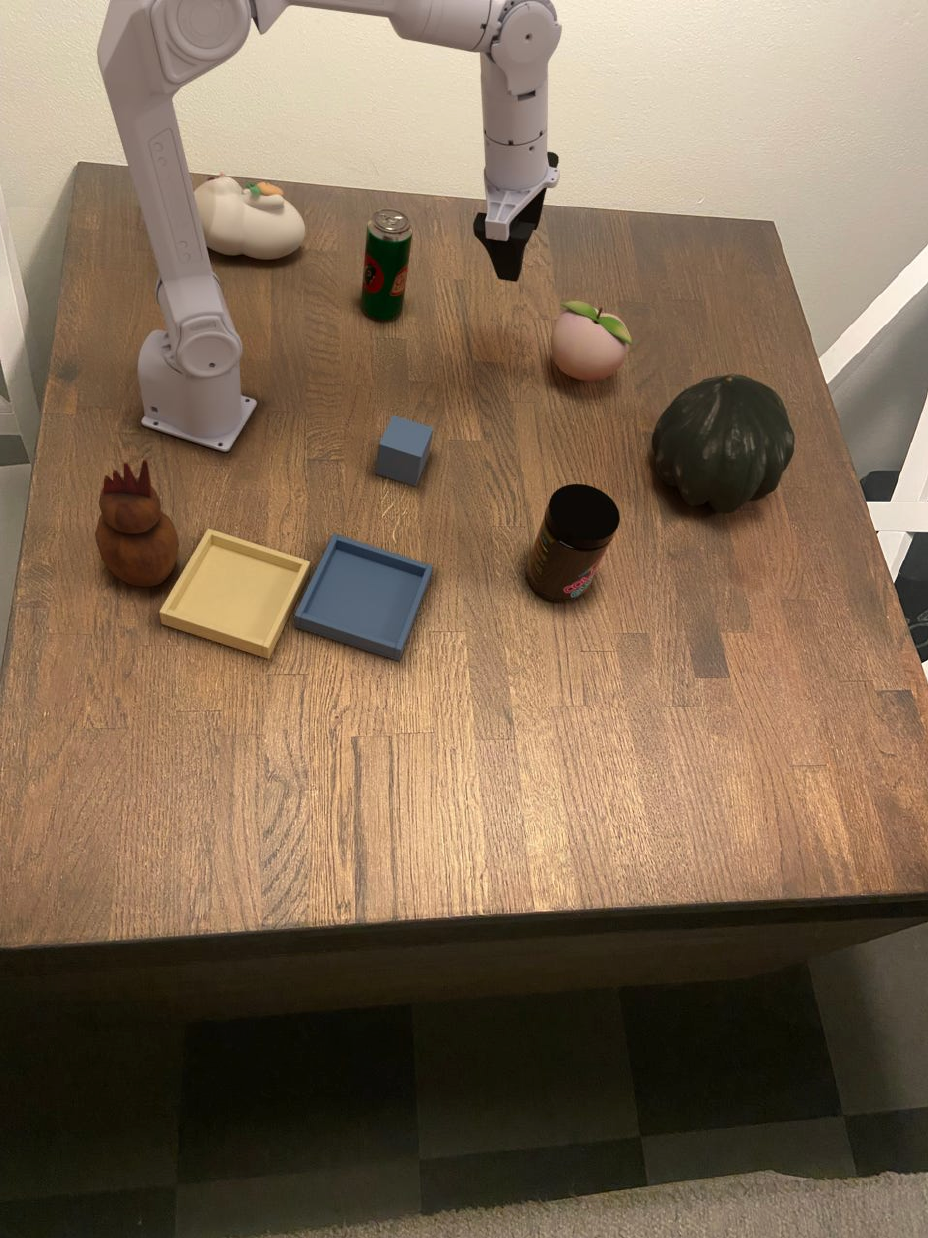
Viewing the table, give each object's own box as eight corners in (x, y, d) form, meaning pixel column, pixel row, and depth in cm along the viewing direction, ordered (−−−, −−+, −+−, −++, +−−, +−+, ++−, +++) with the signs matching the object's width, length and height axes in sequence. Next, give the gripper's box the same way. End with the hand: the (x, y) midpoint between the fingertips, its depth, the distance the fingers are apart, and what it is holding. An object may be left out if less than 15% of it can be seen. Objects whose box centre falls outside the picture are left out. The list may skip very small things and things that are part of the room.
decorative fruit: (529, 383, 107) (549, 314, 99) (551, 343, 112) (572, 274, 104) (603, 413, 107) (630, 346, 98) (622, 372, 111) (649, 304, 103)
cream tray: (161, 624, 82) (158, 611, 80) (209, 540, 88) (208, 527, 86) (268, 659, 82) (268, 647, 80) (309, 573, 88) (310, 561, 86)
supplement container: (547, 614, 90) (575, 550, 81) (511, 563, 92) (534, 496, 84) (601, 591, 92) (634, 526, 84) (565, 542, 95) (593, 475, 86)
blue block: (375, 473, 96) (378, 443, 92) (388, 444, 98) (392, 414, 95) (415, 486, 96) (421, 457, 92) (428, 457, 98) (433, 427, 95)
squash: (830, 467, 100) (801, 336, 93) (758, 540, 93) (720, 405, 86) (721, 467, 111) (687, 350, 104) (648, 532, 104) (607, 411, 97)
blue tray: (293, 627, 84) (294, 615, 83) (332, 545, 90) (333, 533, 88) (399, 661, 84) (401, 650, 82) (430, 577, 90) (433, 565, 88)
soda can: (396, 327, 109) (407, 238, 99) (355, 316, 109) (362, 226, 99) (406, 302, 112) (418, 212, 102) (366, 291, 112) (374, 200, 102)
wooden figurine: (193, 560, 86) (177, 449, 74) (162, 606, 83) (140, 498, 71) (127, 534, 87) (101, 420, 74) (94, 579, 83) (60, 468, 71)
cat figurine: (312, 179, 106) (178, 150, 102) (307, 247, 106) (171, 221, 102) (304, 216, 116) (180, 191, 112) (298, 278, 115) (174, 255, 111)
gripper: (539, 183, 77) (538, 308, 89) (578, 80, 83) (573, 209, 95) (459, 173, 78) (469, 297, 90) (503, 73, 85) (507, 201, 97)
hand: (518, 251), depth 93 cm, fingers open, 7 cm apart
